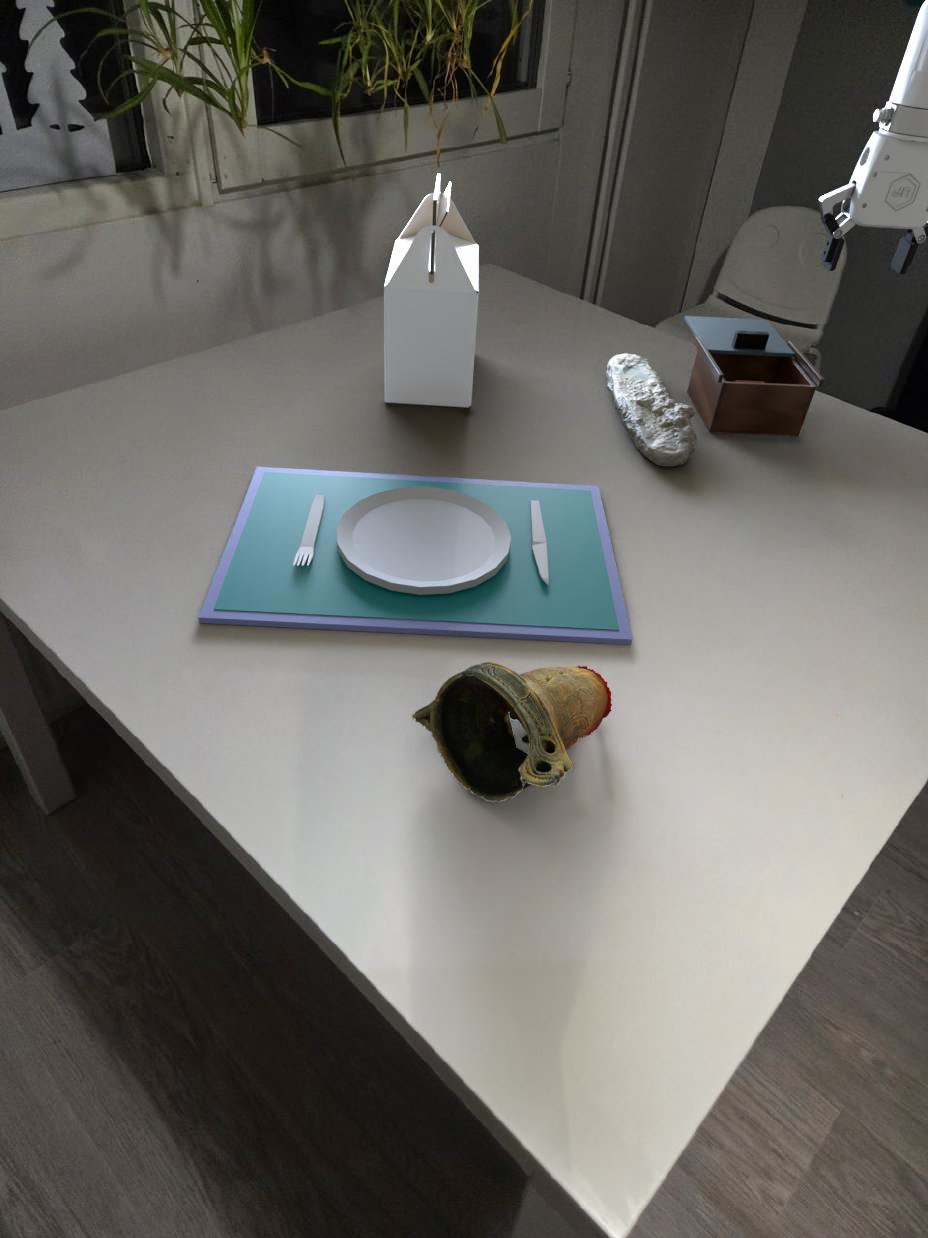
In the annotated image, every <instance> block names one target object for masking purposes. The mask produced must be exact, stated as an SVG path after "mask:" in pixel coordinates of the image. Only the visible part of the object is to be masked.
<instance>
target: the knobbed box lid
mask: <svg viewBox="0 0 928 1238" xmlns="http://www.w3.org/2000/svg"><path fill="white" fill-rule="evenodd" d="M684 321H685V322H686V323H685V324H687V326H688V327H689V329H690V331H691V332H692V334H693V335H694V337H695V338H696V337H700V339H701V340H702V342H703V343H704V345H705V346H706V348H707V350H708V351H709V353H713V354H735V355H757V356H779V357H792V358H794V355H795V353H794V352H793V351H792V349H791V348H790V347H789V346H788V343H787V342H786V341H785V339H784V338H783V337H782V336H781V335H780V334H779V332H778V331H777V330H776V329H775V328H774V327H773V326H772V324H771V323H770V322H769V320H768V319H759V318H742V317H741V318H739V317H722V316H721V317H719V316H718V317H717V316H701V315H700V316H698V315H696V316H695V315H684Z"/></svg>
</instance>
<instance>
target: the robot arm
mask: <svg viewBox="0 0 928 1238" xmlns="http://www.w3.org/2000/svg"><path fill="white" fill-rule="evenodd" d="M890 94H891V95H890V96H889V100H888V101H886V104H885V106H884V107H883V108H876V109H875V110H874V112H873V116H872V121H873V122H874V123H878V124H879V125H878V127H879V129H878V130H874V131H873V132H872V134H871V136H870V137H869V140H868V141H867V143H866V145H865V146H864V149H863V150H862V153H861V155H860V157H859V159H858V161H857V163H856V164H855V167H854V170H853V172H852V175H851V177H850V180H849V183H848V184H846V185H843V186H841V187H839V188H836V189H834V190H832V191H830V192H828V193H825V194H824V195H821V196H820V197H819V198H818V208H819V213H820V221H821V222H822V224H823V226H824V228H825V231H826V232H827V237H826V240H825V243H824V246H823V249H822V252H821V255H820V261H821V265H822V266H823V267H824V269H826V270H827V271H829V272H834V271H835V270H836V267H837V266H838V262H839V260H840V257H841V254H842V251H843V249H844V245H845V239H844V238H843V236H844V235H845V234H846V233H848V232H849V231H850V230H851V229H853V227H855V226H856V225H857V226H861V227H865V228H880V229H881V228H884V229H899V230H905V232H906V235H905V236H904V235H903V236H901V237H902V238H900V240H899V242H898V245H897V247H896V251H895V253H894V255H893V258H892V260H891V264H890V268H891V269H892V270H893V271H895V272H896V273H897V274H899V275H903V276H904V275H906V273H907V271H908V268H909V267H910V266H911V265H912V263H913V260H914V257H915V256H916V252H917V250H918V248H919V245H920V244H923V243H924V242H925V241H926V239H927V237H928V0H925V1H924V2H923V3H922V5H921V7H920V9H919V12H918V13H917V17H916V19H915V23H914V26H913V29H912V31H911V34H910V38H909V41H908V44H907V47H906V50H905V52H904V56H903V58H902V62H901V64H900V67H899V70H898V73H897V76H896V79H895V82H894V85H893V88H892V90H891V93H890ZM841 202H842V203H841ZM839 203H841V207H840V211H841V212H840V213H839V214H838V215H837V216H836V217H835V215H834V206H835V205H837V204H839Z"/></svg>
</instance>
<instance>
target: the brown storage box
mask: <svg viewBox="0 0 928 1238" xmlns="http://www.w3.org/2000/svg"><path fill="white" fill-rule="evenodd" d="M787 345H788V346H789V347H790V348H791V349H792V351H793V352H794V353H795V355H794V357H779V356H757V355H735V354H713V353H709V351H708V350H707V348H706V346H705V345H704V343H703V342H702V340H701V339H700V337H695V338H694V346H695V348H696V350H697V351H696V355H695V358H694V362H693V365H692V371H691V375H690V379H689V382H688V386H687V391H686V393H687V394H688V397H689V398H690V400H691V402H692V404H693V405H694V407H695V409H696V411H697V413H698V416H699V417H700V418H701V420H702V422H703V424H704V426H705V427H706V429H707V432H708V433H710V434H732V435H733V434H734V435H759V436H783V437H799V436H800V434H801V431H802V429H803V427H804V424H805V420H806V417H807V415H808V412H809V409H810V407H811V404H812V401H813V398H814V395H815V393H816V390H817V387H818V388H822V387H823V385H824V382H825V378H824V377H823V376H822V374H821V373H820V372H819V371H818V370H817V368H816V367H815V366H814V365H813V364H812V363H811V361H810V360H809V359H808V358H807V357H806V356H805V354H804V353H803V352H802V351H801V350H800V349H799V347H798V346H797V345H796V344H795V343H794V341H792V340H789V341H788V343H787ZM735 380H743V381H764V382H765V383H752V382H735Z"/></svg>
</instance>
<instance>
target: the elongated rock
mask: <svg viewBox="0 0 928 1238" xmlns="http://www.w3.org/2000/svg"><path fill="white" fill-rule="evenodd" d="M605 370H606V371H605V377H606V379H607V385H606V388H607V389H608V391H609V392H610V393H611V394H612V397H613V400H614V401H613V402H614V409H615V410H616V411H618V413H619V415H620V418H621V421H622V426H623V427H624V429H625V430H626V431H627V432H628V434H629V436H630V438H631V439H632V442H634V443H635V444H634V446H635V448H636V449H637V451H640V452H641V453H642V455H643V456H644V457H645V458H647V459H648V460H649V461H651V462H652V463H654V464H655V465H657V466H661V467H675V466H677V467H678V466H681V465H683V464H685V463H687V461H688V459H689V457H690V456H693V454H694V453H695V449H696V446H697V440H698V438H697V437H698V435H697V432H696V431H694V427H693V423H692V418H693V417H694V416H695V413H696V412H695V409H694V407H693V406H691V405H688V404H685V403H682V402H681V403H680V402H677V401H676V400H675V399H673V398H670V394H669V392H668V390H667V387H666V386H664V382H663V381H662V379H661V378H660V376H659V375H658V373H657V371H656V370H653V368H652V366H650V362H649V360H648V359H647V358H644V357H643V356H641V355H638V354H635V353H634V354H633V353H628V352H624V353H621V354H620V353H618V354H615V355H614V356H612V357H611V358H610V359H609V361H608V362H607V365H606V366H605Z"/></svg>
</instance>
